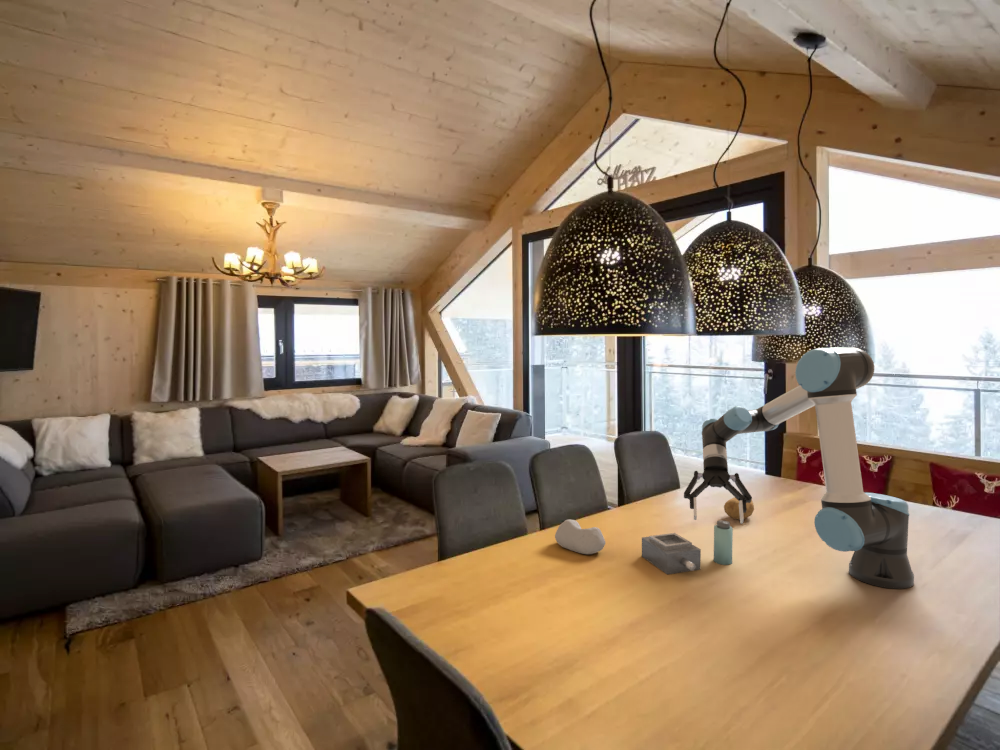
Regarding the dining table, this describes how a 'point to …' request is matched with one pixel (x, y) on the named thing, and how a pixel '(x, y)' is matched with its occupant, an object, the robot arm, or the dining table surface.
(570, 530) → the decorative stone
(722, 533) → the teal bottle
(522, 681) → the dining table surface
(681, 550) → the square hollow holder
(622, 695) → the dining table surface
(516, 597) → the dining table surface
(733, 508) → the potato
